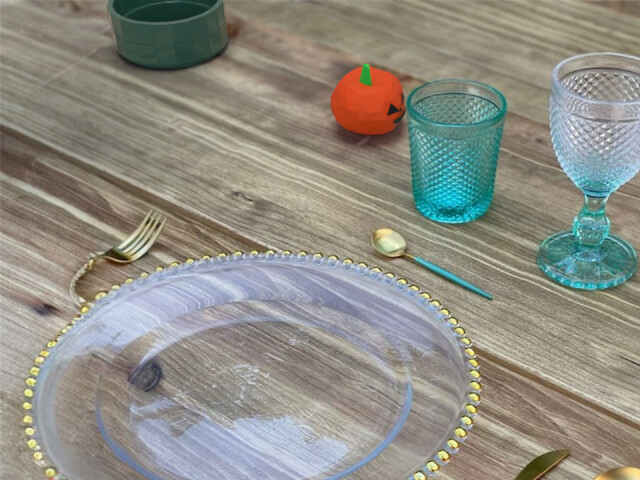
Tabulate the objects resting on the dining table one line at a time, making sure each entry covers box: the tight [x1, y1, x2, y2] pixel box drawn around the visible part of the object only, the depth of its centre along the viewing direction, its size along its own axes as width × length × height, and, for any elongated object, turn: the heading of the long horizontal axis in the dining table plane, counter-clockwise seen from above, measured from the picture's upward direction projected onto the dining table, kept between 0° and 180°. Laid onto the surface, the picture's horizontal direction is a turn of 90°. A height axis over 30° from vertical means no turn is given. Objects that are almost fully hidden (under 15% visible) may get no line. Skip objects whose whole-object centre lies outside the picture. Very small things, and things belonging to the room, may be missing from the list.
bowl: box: [106, 0, 230, 70], centre depth 101 cm, size 12×12×5 cm
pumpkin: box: [330, 62, 407, 136], centre depth 88 cm, size 7×8×6 cm
